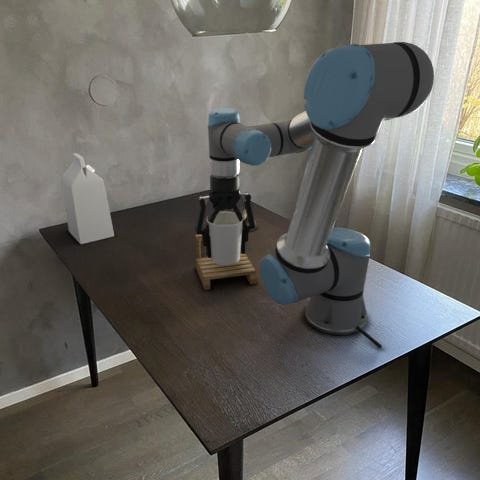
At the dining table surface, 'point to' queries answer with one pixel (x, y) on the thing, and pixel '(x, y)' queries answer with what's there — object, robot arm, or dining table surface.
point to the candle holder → (225, 238)
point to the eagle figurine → (246, 218)
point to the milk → (86, 203)
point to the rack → (222, 268)
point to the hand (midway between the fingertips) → (225, 254)
